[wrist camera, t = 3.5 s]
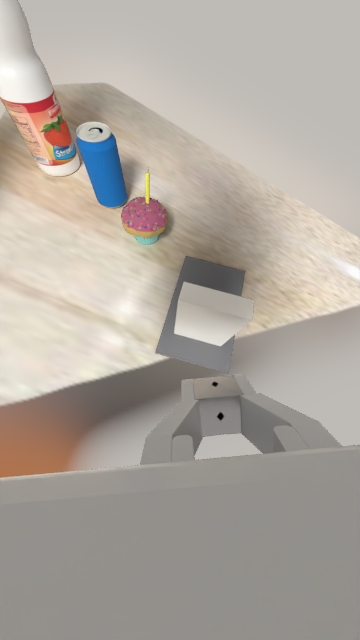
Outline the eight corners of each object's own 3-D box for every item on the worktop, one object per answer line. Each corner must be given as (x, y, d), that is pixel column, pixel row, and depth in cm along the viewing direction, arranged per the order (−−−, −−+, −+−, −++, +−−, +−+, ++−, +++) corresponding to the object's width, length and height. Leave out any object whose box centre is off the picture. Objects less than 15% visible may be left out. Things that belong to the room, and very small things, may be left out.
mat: (227, 373, 30) (228, 372, 29) (155, 353, 30) (155, 352, 29) (243, 273, 37) (244, 271, 36) (185, 257, 37) (186, 255, 37)
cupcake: (143, 215, 41) (134, 149, 30) (175, 233, 40) (178, 170, 28) (117, 240, 38) (97, 176, 27) (152, 259, 37) (145, 201, 25)
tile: (220, 346, 30) (252, 319, 19) (173, 333, 31) (178, 300, 20) (223, 332, 31) (254, 299, 20) (177, 320, 32) (183, 281, 20)
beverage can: (131, 193, 43) (118, 124, 32) (123, 213, 41) (106, 145, 29) (103, 188, 43) (81, 117, 32) (94, 207, 41) (66, 138, 29)
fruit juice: (46, 151, 46) (-107, -155, 20) (84, 155, 47) (-17, -140, 21) (34, 176, 43) (-168, -156, 17) (76, 179, 43) (-58, -137, 17)
